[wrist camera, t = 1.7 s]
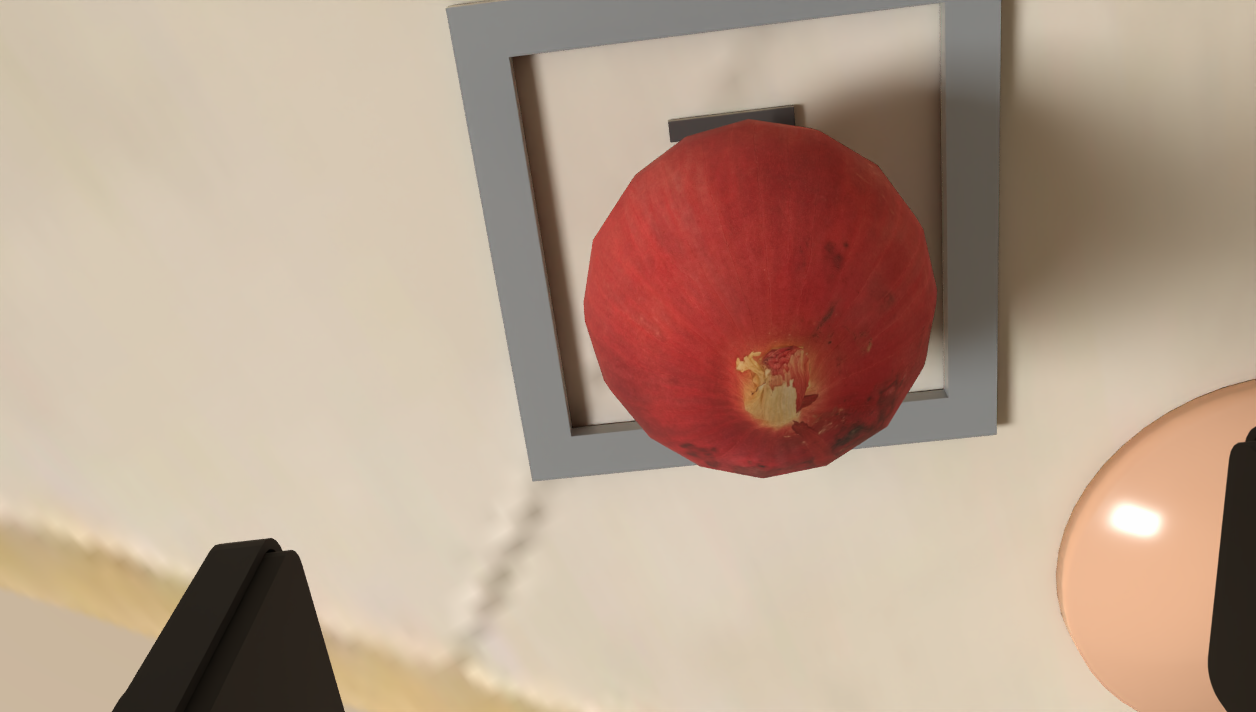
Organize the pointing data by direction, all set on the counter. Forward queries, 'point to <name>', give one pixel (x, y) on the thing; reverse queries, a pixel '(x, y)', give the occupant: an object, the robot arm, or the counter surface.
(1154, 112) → the counter surface
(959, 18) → the frame
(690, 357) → the onion
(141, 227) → the counter surface
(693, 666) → the counter surface
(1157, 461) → the disc
